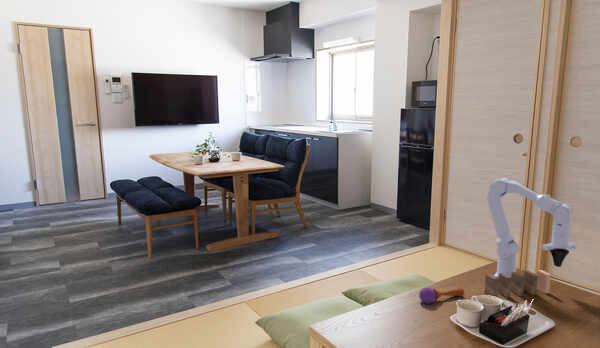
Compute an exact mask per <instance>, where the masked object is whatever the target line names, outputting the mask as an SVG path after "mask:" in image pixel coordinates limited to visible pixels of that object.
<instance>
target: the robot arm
mask: <svg viewBox="0 0 600 348" xmlns="http://www.w3.org/2000/svg"><path fill="white" fill-rule="evenodd" d="M488 188H489V189H488V193H487V197H486V199H487V203H488V206H489V207H488V208H489V211H490V214H491V218H492V221H493V224H494V229H495V232H496V236H497V238H496V254H497V265H496V266H497V267H496V272H495V274H494V275H493V276H495V277H496V278H498V277H499V273H504V274H506V275H508V276H510V277H511V274H512V272H517V255H516V254H517V253H518V252H519V249H520V247H519V245H518V243H517V242H516V241H515V238H514V236H512V234H511V232H510V228H509V225H508V220H507V218H506V214H505V211H504V207H503V204H502V203H503V202H502V199H503V197H504V196H505V195H506V194H512V193H516V194H518V195H520V196H522V197H524V198H527V199H529V200H530V201H532V202H534V204H535V207H537V208H540V210H541V209H542V210H543V211H545V212H547V213H549V214H550V215H552V216H553V223H552V232H551V233H552V234H551V242H549V243H545V244H541V245H542V247H541V250H542V251H543V250H544V251H549V252H550V254H551V257H552V260H553V266H555V267H558V268H561V267H562V265H563V262H564V261H565V259H566V257H567V256H568V255H569V254H570V250H569V249H573V250H574V249H577V245H578V244H577V243H574V242H569V239H570V228H571V227H570V226H571V217H572V215H573V213H574V211H573V208H572V206H570V205H569V204H568V203H562V201H561V200H556V199H554V198H553V197H551V195H550V194H544V193H542V194H538V193H536V192H535V191H533V190H531V189H530V188H527V187H525V186H524V185H523V184H521V183H519V182H518V181H515V180H513V179H511V178H509V177H502V178H499V179H495V180H493V181H492V182H491V183H490V185H489V187H488Z"/></svg>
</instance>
